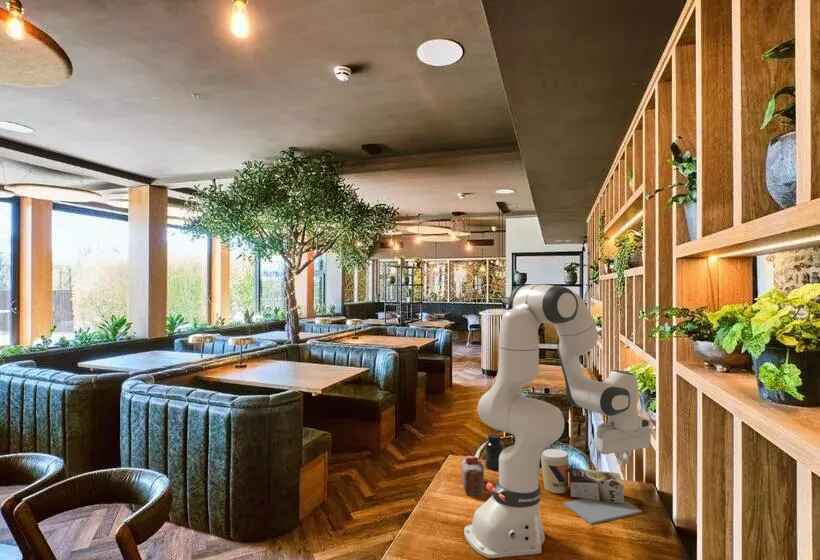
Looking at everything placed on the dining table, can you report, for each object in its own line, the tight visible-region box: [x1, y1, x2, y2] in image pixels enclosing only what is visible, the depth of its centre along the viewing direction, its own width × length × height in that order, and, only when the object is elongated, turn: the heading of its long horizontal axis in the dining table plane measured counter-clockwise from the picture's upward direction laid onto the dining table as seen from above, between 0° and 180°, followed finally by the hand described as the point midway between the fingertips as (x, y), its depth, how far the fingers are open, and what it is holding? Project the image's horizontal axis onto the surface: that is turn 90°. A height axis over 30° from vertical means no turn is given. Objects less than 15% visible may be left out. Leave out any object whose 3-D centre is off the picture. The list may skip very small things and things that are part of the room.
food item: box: [461, 455, 485, 496], centre depth 149 cm, size 14×8×10 cm, turn 178°
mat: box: [562, 498, 643, 525], centre depth 134 cm, size 20×12×1 cm, turn 110°
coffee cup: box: [540, 448, 569, 494], centre depth 147 cm, size 9×9×12 cm
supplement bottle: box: [485, 433, 505, 471], centre depth 165 cm, size 7×7×12 cm
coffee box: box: [568, 467, 625, 504], centre depth 142 cm, size 9×6×16 cm
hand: (622, 463), depth 137 cm, fingers closed
